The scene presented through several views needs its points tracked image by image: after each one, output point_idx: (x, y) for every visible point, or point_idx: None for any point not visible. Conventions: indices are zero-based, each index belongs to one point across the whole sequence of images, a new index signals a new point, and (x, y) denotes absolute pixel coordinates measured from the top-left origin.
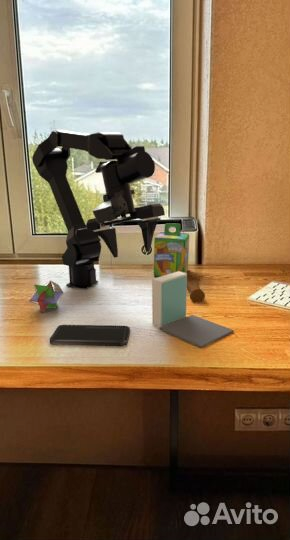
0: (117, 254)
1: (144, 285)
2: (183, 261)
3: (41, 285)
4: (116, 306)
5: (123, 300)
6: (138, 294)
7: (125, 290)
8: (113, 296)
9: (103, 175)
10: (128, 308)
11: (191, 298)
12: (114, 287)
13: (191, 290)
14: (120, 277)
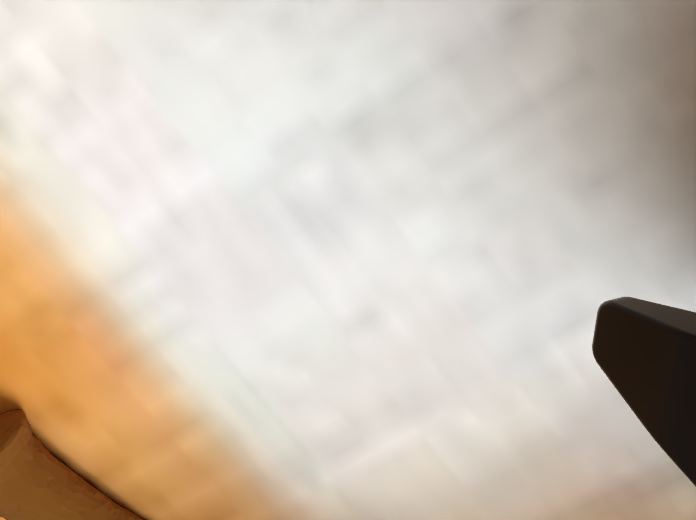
0: (613, 378)
1: (446, 468)
2: None
3: None
4: (379, 54)
5: (407, 183)
6: (384, 328)
7: (506, 340)
8: (517, 206)
9: None
10: (277, 73)
11: (13, 417)
12: None
13: (62, 495)
14: (668, 500)
